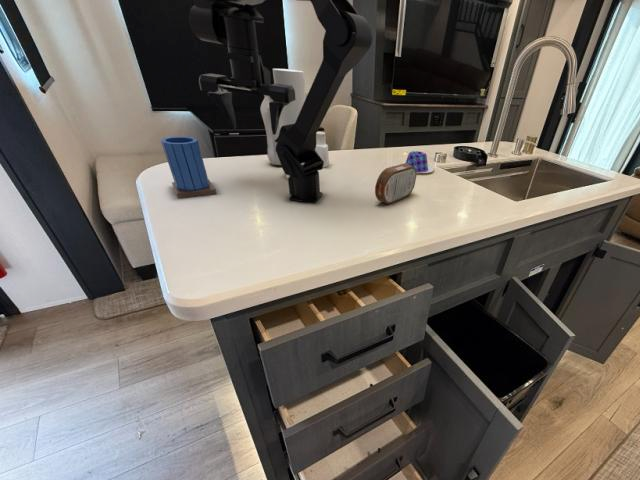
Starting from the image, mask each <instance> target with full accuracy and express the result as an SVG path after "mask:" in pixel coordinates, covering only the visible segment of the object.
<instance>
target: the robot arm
mask: <svg viewBox="0 0 640 480" xmlns="http://www.w3.org/2000/svg"><path fill="white" fill-rule="evenodd" d="M265 1H266V0H193V4H194V5H193V6H191V8H190V10H189V15H188V23H189V26H190V28H191V31H192V32H193V34H194V35H195V37H197V39H199V40H201V41H203V42H209V43H213V44H220V45H226V46H227V50H228V52H226V53H225V55H226V59H227V60H229V63H230V69H231V75H232V76H230V77H229V78H228V76H227V75H223V74H217V73H205V74H200V75H199V78H198V85H199V90H200V91H202V92H207V96H208V97H212V99H213V100H214V102H215V103H216V104H217V106H218V107H219V109H220V110H221V111H222V113H223V115H224V116H225V118H226V120H227V121H228V123H229V125H230V127H231V128H232V129H233V130H236V129H237V119H236V114H235V110H234V106H233V105H234V104H233V92H232V91H234V92H239V93H245V94H254V95H261V96H264V95H266V96H270V98H271V99H272V100H273V101H271V102H269V108H270V118H271V127H272V132H273V135H275V134H276V132H277V128H278V123H279V119H280V115H281V112H282V110H283V107H284V106H286V105H288V104H289V103H290V102H292V101H294V100H295V90H294V88H293V87H292V86H291V85H284V84H278V83H276V84H274V83H271V71H270V70H269V69H268V68H267V67H266V66H265V65H264V64H263V58H262V56H261V55H259V54H260V53H259V45H258V38H257V37H258V36H257V28H256V23H264V22H265V19H264V17H263V16H262V15H261V14H260V13H259V11H258V10H257V9H256V7H255V5H256V6H257V5H259V4H262V3H264V2H265ZM298 1H299V2H310V3H311V4H312V7H313V10H314V12H315V15H316V18H317V20H318V22H319V23H320V24H321V26H322V27H323V29H324V31H325V32H324V34H323V35H324V36H323V39H322V61H321V63H320V64H319V68H318V70H317V72H316V75H315V77H314V79H313V81H312V83H311V86H310V88H309V91H308V92H307V95H306V99H305V102H304V104H303V106H302V108H301V111H300V113H299V115H298V117H297V120H296V122H295V124H290V125H285V126H282V127H281V129H280V132H279V136H278V138H277V139H276V140H275V142H277V144H276V152H277V155H278V158H279V160H280V163H281V165H280V166H281V167H282V170H283V173H284V174H285V176H286V175H289V176H290V177H289V178H287V183H288V191H289V192H288V193H289V195H290V196H289V201H296V202H303V203H311V204H312V203H313V204H315V203H317V202H318V201H319V200H320V198H321V197H322V196H323V192H322V191H321V185H320V171H322V170H323V168H324V167H323V164H324V161H323V160H322V159H321V157H320V156H319V155H318V153H317V152H316V151H315V148H316V133H317V132H319V129H320V127H321V125H322V123H323V121H324V119H325V117H326V116H327V113H328V111H329V109H330V107H331V105H332V103H333V101H334V99H335V97H336V95H337V93H338V91H339V89H340V88H341V85H342V83H343V81H344V79H345V77H346V75H348V73H349V72H350V71H352V69H354V68H355V67H356V66H357V65H358V64H359V63H360V62H361V61H362V59H363V58H364V57H365V55H366V54H367V53H368V51H369V50H370V48H371V47H372V44H373V35H372V34H373V33H372V27H371V25H370V23H369V21H368V20H367V19H366V18H365V17H364V16H362V15H360V14H359V13H358V11H357V10H356V8H355V7H354V5H352V3H351V2H350V1H349V0H297V2H298ZM241 85H242V86H241ZM244 86H245V87H244ZM301 163H304V165H301Z"/></svg>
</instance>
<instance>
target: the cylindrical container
mask: <svg viewBox="0 0 640 480" xmlns="http://www.w3.org/2000/svg"><path fill="white" fill-rule="evenodd" d="M272 77H273V84H276V83H278V84H284V85H291V86H292V87H293V88H294V90H295V100H294V101H292V102H290V103H289V104H288V105H286V106H284V107H283V110H282V112H281V115H280V119H279V125H280V129H281V127H282V126H285V125H290V124H295V122H296V120H297V117H298V115H299V113H300V111H301V108H302V106H303V104H304V102H305V99H306V97H307V95H306V83H305V82H306V81H305V71H303V70H299V69H298V70H297V69H289V68H272ZM301 165H304V163H301ZM289 177H290V176H289V175H286V174H285V178H286V179H288V178H289Z"/></svg>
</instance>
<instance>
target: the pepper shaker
mask: <svg viewBox="0 0 640 480" xmlns="http://www.w3.org/2000/svg"><path fill="white" fill-rule="evenodd" d="M326 138H327V137H326V132H324V131H317V133H316V148H315V151H316V152H317V153H318V155H319V156H320V157H321V159H322V160H323V161H324V164H323V168H327V167H328V166H329V164H330V158H329V144H327V143H326V140H327V139H326Z"/></svg>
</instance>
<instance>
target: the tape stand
mask: <svg viewBox="0 0 640 480" xmlns="http://www.w3.org/2000/svg"><path fill="white" fill-rule="evenodd" d="M208 181H209V186H208V187H207V188H204V189H200V190H194V191H187V190H180V189H178V188H177V187H176V185H175V182H174V181H172V182H171V184H172V188H173V190H174V192H175V194H176V197H177V199H185V198H194V197H202V196H211V195H217V190H216V188H215V186H214V185H213V183H212V182H211V180H210V179H209V178H208Z"/></svg>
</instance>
